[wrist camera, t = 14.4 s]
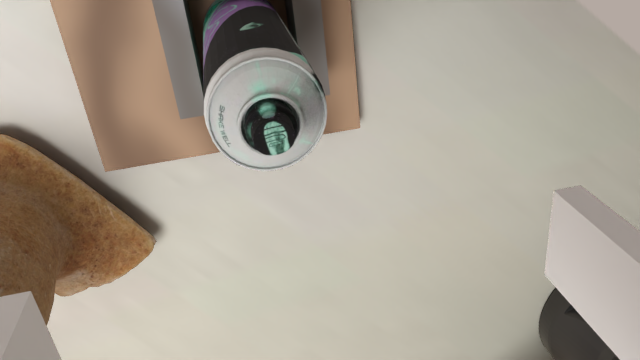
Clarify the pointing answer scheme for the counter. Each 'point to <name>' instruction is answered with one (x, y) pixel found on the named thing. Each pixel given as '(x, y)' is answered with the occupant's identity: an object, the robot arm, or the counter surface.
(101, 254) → the tan boot-shaped piece
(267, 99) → the spray can
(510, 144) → the counter surface
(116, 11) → the socket board
